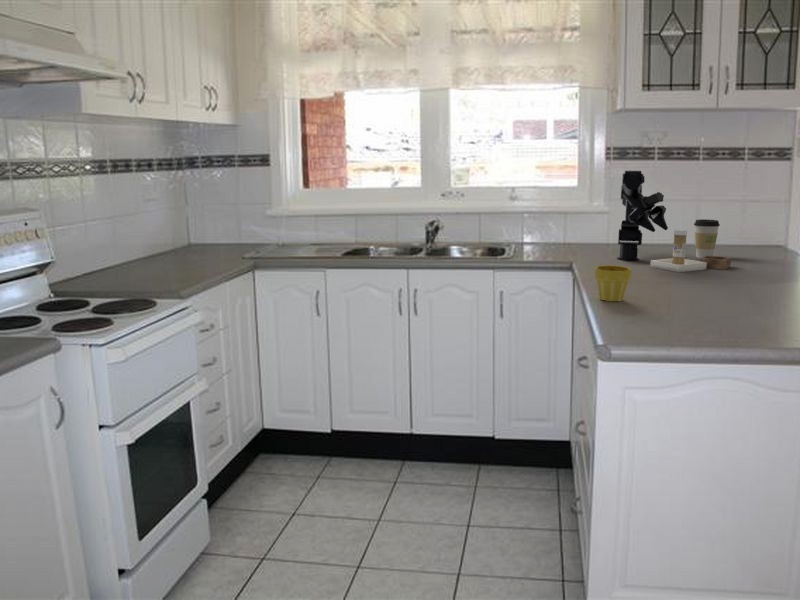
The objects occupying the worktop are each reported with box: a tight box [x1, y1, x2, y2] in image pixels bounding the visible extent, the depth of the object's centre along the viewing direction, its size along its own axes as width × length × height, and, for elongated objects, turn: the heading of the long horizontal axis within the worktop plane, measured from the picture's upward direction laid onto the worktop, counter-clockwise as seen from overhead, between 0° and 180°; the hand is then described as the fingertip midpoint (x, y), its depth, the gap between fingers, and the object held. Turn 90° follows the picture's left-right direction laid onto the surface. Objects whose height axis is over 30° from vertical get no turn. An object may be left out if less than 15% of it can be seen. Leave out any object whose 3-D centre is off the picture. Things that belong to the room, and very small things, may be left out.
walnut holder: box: [699, 255, 732, 271], centre depth 292 cm, size 9×9×4 cm
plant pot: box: [594, 264, 632, 302], centre depth 232 cm, size 10×10×10 cm
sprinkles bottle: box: [672, 228, 688, 265], centre depth 289 cm, size 5×5×14 cm
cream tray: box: [649, 257, 707, 273], centre depth 290 cm, size 14×14×2 cm
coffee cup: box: [693, 218, 721, 259], centre depth 316 cm, size 10×10×15 cm
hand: (660, 230), depth 293 cm, fingers open, 9 cm apart
